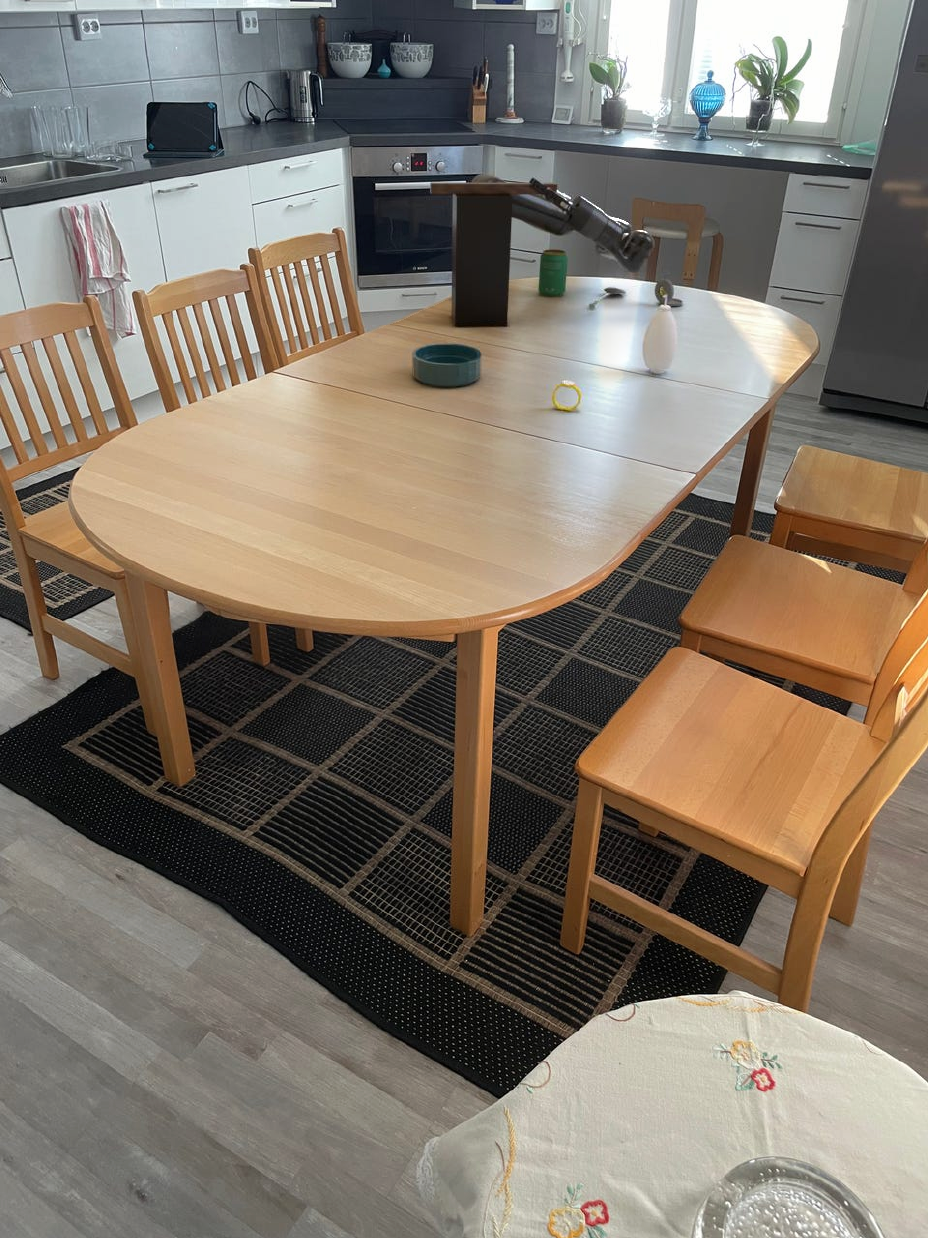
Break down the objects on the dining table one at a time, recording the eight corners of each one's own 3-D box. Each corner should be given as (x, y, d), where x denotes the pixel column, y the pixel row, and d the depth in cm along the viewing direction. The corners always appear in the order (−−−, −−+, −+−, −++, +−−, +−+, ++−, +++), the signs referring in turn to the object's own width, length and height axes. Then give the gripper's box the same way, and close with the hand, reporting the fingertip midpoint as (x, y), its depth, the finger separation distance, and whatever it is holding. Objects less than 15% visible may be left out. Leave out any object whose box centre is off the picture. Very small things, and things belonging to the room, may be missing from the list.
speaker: (501, 316, 260) (506, 190, 242) (507, 326, 251) (512, 196, 234) (451, 316, 258) (452, 190, 241) (455, 327, 250) (456, 196, 233)
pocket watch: (683, 302, 276) (688, 267, 270) (679, 309, 269) (684, 273, 264) (655, 299, 278) (660, 264, 272) (650, 306, 271) (655, 270, 266)
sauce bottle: (666, 366, 225) (677, 289, 215) (678, 377, 218) (689, 297, 209) (635, 367, 224) (644, 290, 214) (646, 378, 217) (656, 298, 208)
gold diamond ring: (550, 410, 199) (552, 382, 196) (552, 405, 201) (554, 378, 198) (578, 413, 198) (580, 385, 194) (580, 408, 200) (582, 381, 197)
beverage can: (568, 292, 283) (571, 250, 277) (559, 298, 277) (562, 255, 271) (543, 289, 286) (546, 247, 279) (534, 295, 280) (536, 252, 273)
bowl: (398, 377, 215) (397, 353, 212) (445, 362, 225) (445, 339, 222) (447, 393, 206) (447, 369, 203) (494, 377, 216) (495, 353, 213)
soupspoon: (629, 296, 283) (608, 295, 286) (629, 285, 281) (609, 283, 284) (601, 310, 266) (580, 308, 269) (602, 298, 264) (580, 295, 267)
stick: (555, 192, 240) (555, 182, 239) (556, 194, 238) (557, 184, 237) (430, 192, 237) (430, 182, 236) (431, 194, 235) (431, 183, 234)
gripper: (583, 237, 239) (527, 200, 233) (572, 226, 251) (518, 191, 245) (600, 209, 236) (544, 171, 230) (588, 200, 248) (534, 163, 242)
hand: (531, 182), depth 237 cm, fingers closed on stick, 2 cm apart
